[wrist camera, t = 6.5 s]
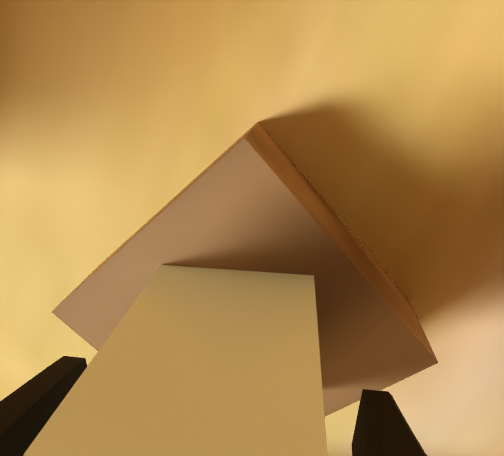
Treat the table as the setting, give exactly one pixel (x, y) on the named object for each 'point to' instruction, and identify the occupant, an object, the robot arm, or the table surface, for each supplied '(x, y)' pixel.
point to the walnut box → (267, 266)
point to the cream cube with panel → (201, 372)
